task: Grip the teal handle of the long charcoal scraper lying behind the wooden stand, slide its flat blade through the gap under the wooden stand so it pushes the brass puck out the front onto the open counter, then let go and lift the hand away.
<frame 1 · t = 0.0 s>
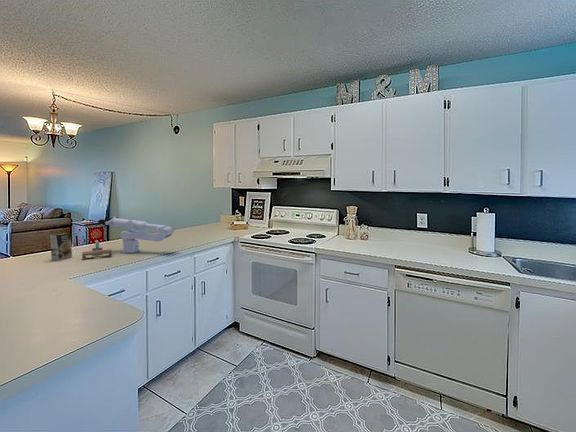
hand: (103, 220, 213), 22 cm above the countertop, tool horizontal, fingers open, 7 cm apart
coffee box: (62, 258, 193), on the countertop
puck: (97, 258, 196), on the countertop
scraper: (97, 251, 213), on the countertop
wooden stand: (97, 257, 196), on the countertop
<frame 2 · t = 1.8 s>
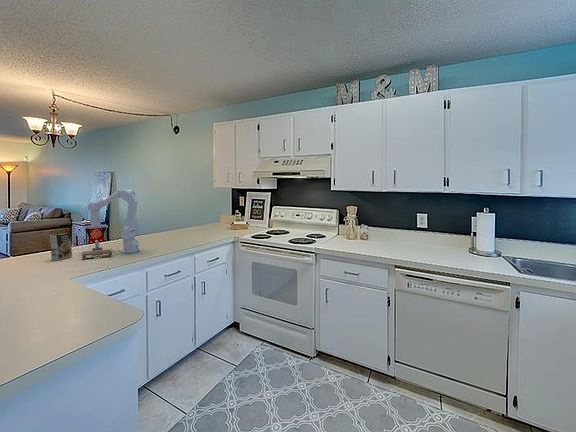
hand: (96, 238, 212), 9 cm above the countertop, tool pointing down, fingers open, 7 cm apart
nothing on the countertop moved.
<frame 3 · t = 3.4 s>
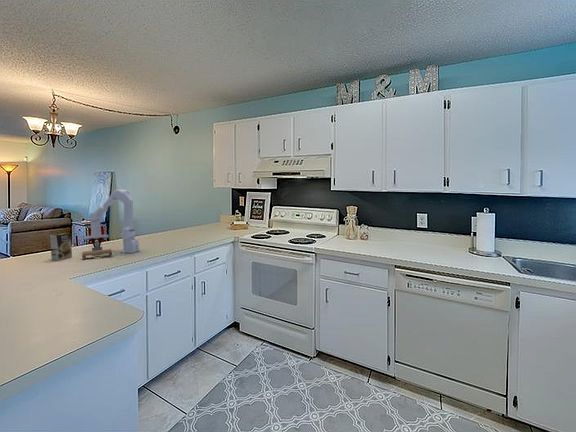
hand: (97, 248, 213), 2 cm above the countertop, tool pointing down, fingers closed on scraper, 2 cm apart
scraper: (97, 251, 214), on the countertop, touching gripper
everything else where it was.
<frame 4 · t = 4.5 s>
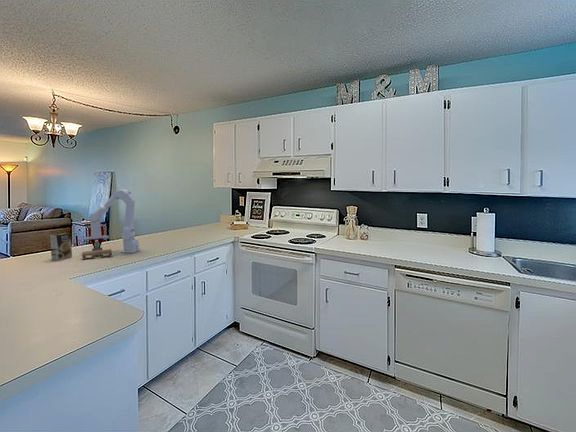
hand: (97, 249, 210), 2 cm above the countertop, tool pointing down, fingers closed on scraper, 2 cm apart
scraper: (97, 252, 211), on the countertop, touching gripper
everything else where it was.
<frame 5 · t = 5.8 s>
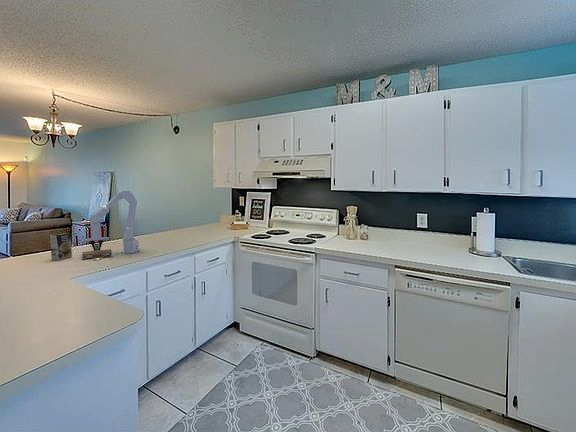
hand: (97, 251, 204), 2 cm above the countertop, tool pointing down, fingers closed on scraper, 2 cm apart
puck: (97, 259, 191), on the countertop, touching scraper
scraper: (97, 254, 205), on the countertop, touching gripper, puck
everything else where it was.
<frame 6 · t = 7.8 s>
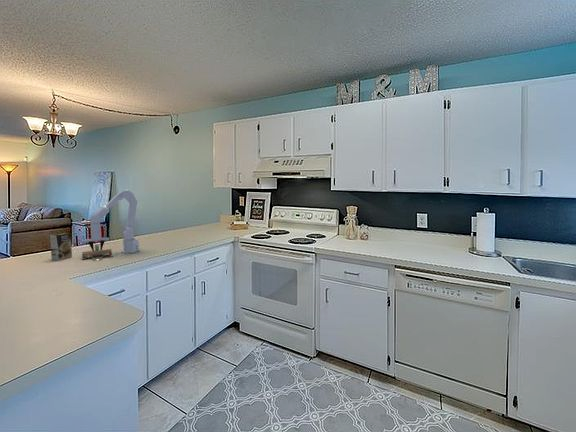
hand: (97, 252, 203), 2 cm above the countertop, tool pointing down, fingers open, 4 cm apart
puck: (97, 260, 190), on the countertop
scraper: (97, 255, 204), on the countertop
everything else where it was.
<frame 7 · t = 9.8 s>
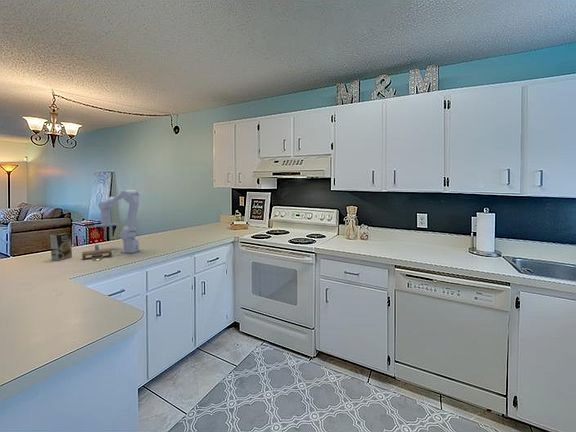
hand: (107, 236, 218), 9 cm above the countertop, tool pointing down, fingers open, 7 cm apart
nothing on the countertop moved.
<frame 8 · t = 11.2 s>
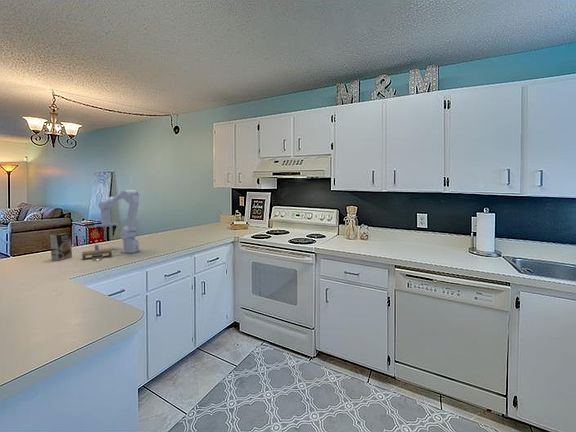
hand: (107, 236, 218), 9 cm above the countertop, tool pointing down, fingers open, 7 cm apart
nothing on the countertop moved.
at the end: puck inside the target area (1.0 cm from its centre), on the countertop; puck moved 7.2 cm from its start; the gripper is holding nothing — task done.
